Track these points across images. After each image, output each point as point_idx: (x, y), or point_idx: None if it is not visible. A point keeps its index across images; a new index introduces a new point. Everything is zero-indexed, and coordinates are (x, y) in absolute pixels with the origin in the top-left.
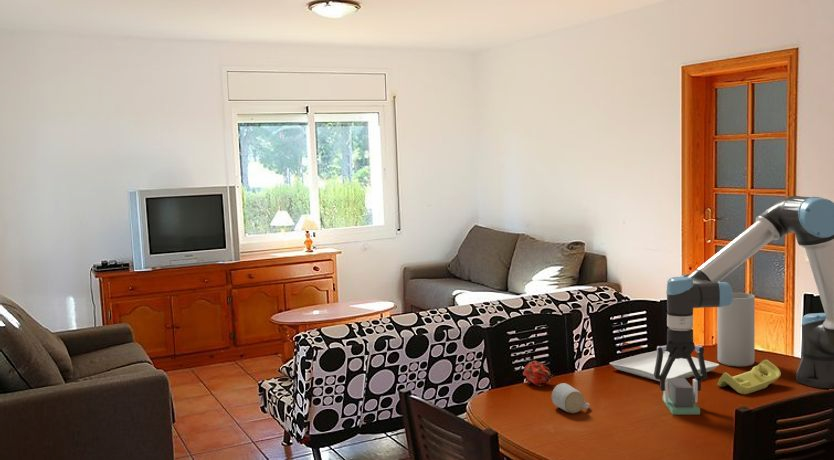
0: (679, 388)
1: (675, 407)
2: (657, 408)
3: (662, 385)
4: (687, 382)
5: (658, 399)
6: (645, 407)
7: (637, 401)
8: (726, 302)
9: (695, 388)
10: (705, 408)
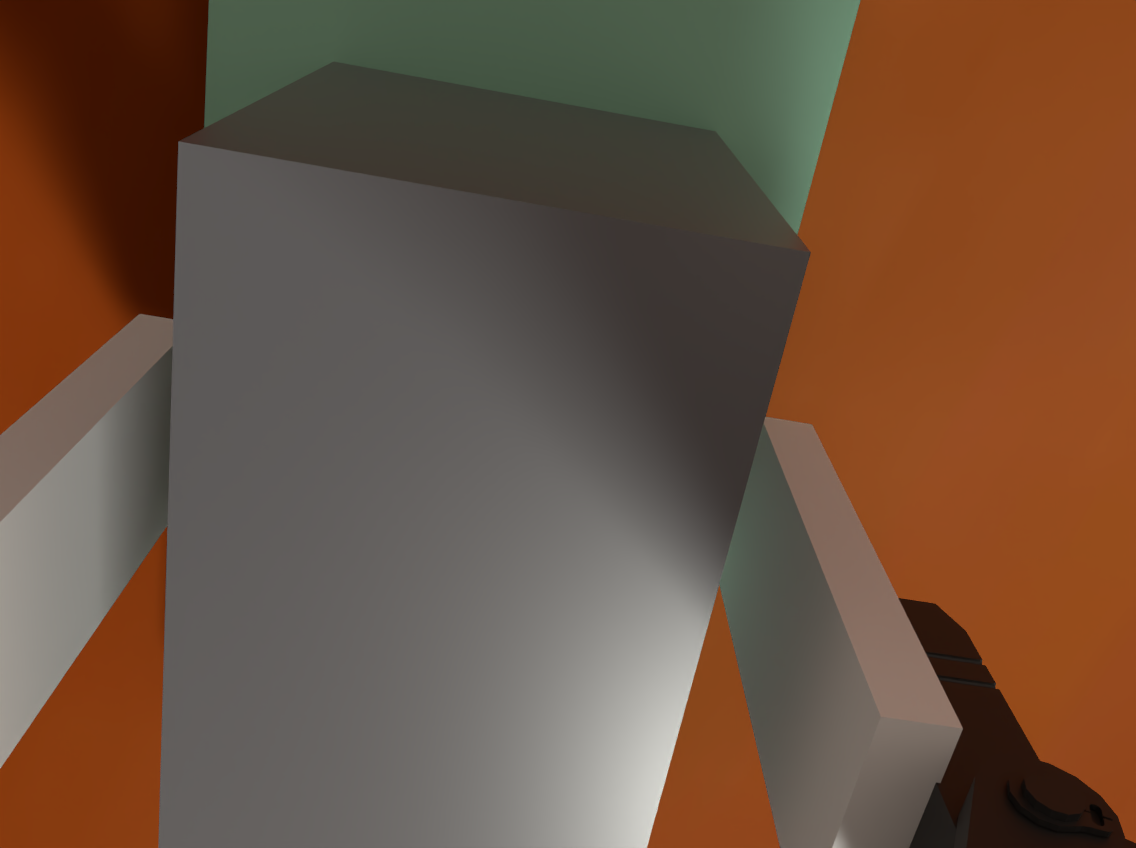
0: (670, 224)
1: (723, 127)
2: (930, 398)
3: (963, 695)
4: (188, 712)
5: (687, 794)
6: (1108, 484)
7: (1060, 765)
8: None
9: (43, 462)
10: (31, 241)
